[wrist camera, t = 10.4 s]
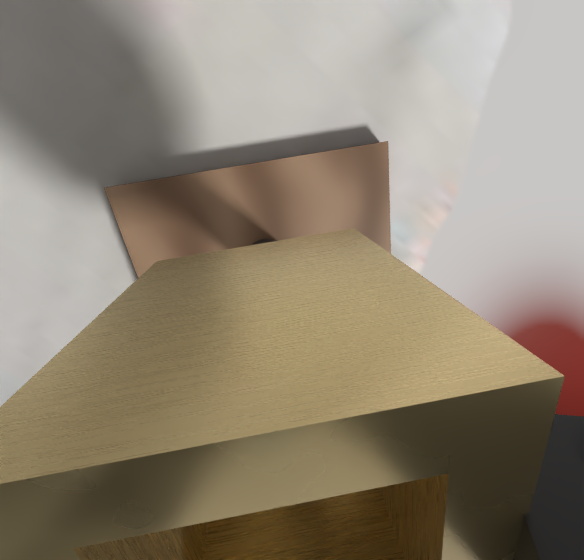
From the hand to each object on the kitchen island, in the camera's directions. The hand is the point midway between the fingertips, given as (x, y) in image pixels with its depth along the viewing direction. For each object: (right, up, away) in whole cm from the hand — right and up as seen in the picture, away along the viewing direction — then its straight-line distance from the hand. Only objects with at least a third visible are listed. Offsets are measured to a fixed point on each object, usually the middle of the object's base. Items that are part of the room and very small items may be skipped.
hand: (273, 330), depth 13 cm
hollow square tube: (0, 0, 0) cm, 0 cm away
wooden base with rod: (-1, +4, +11) cm, 12 cm away
